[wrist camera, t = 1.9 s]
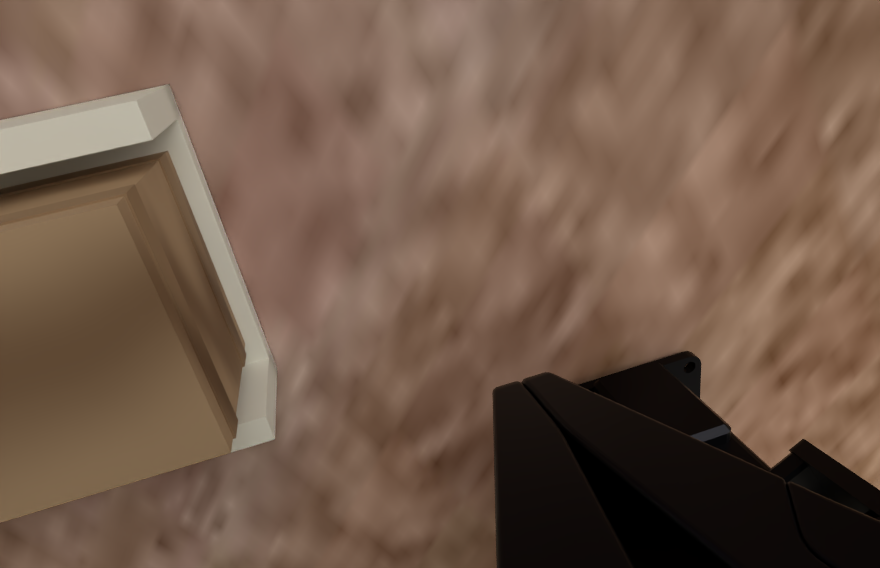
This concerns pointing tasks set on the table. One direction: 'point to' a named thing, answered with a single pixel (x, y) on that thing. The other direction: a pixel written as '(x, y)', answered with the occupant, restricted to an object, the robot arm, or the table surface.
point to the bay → (162, 129)
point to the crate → (109, 335)
